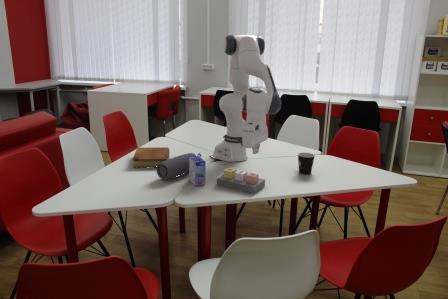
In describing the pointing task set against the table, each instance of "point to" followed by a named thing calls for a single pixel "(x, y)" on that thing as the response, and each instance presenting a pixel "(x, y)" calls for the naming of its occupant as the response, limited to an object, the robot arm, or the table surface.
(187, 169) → the bluetooth speaker
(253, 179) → the key
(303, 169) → the coffee mug
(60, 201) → the table surface
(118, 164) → the table surface
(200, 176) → the ink cartridge box
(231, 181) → the grey keypad base
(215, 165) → the table surface
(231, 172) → the key
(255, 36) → the robot arm
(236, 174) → the key
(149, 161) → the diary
